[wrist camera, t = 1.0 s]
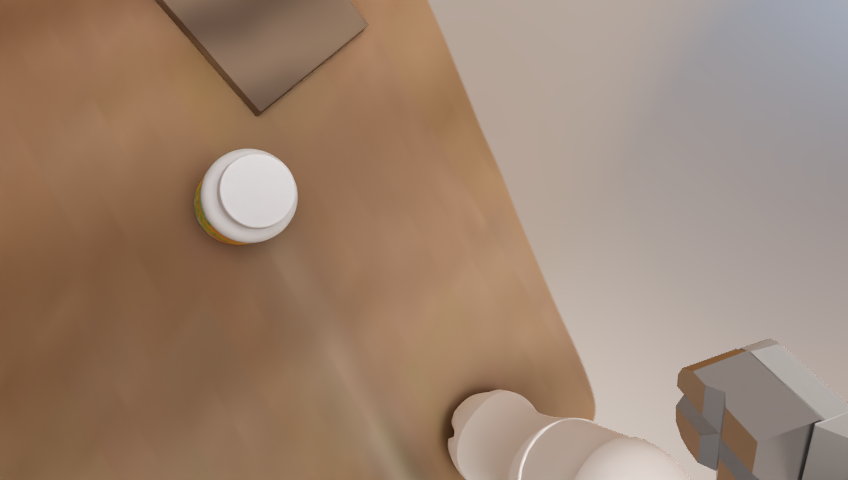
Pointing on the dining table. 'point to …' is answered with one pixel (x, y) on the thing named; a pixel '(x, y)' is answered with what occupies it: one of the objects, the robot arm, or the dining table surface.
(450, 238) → the dining table surface
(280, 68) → the walnut board
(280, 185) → the supplement bottle
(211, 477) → the dining table surface
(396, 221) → the dining table surface
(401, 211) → the dining table surface
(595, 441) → the water bottle
